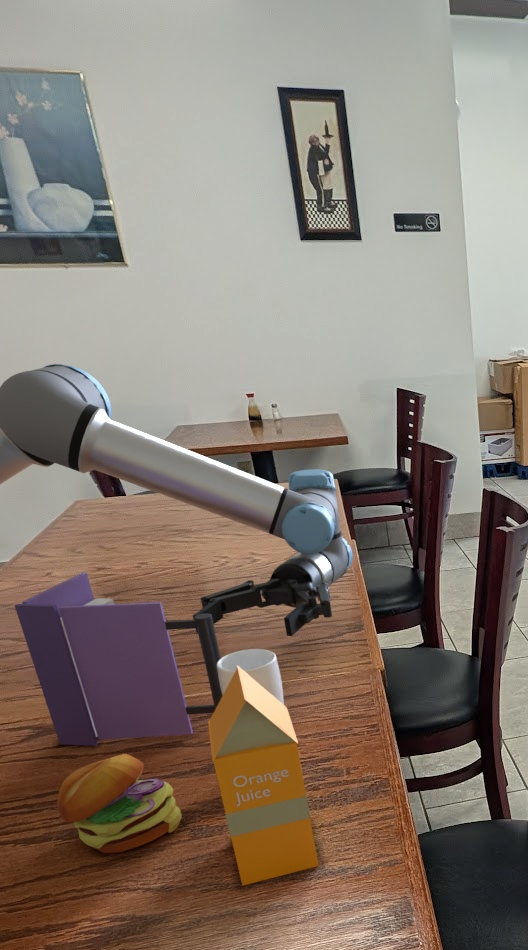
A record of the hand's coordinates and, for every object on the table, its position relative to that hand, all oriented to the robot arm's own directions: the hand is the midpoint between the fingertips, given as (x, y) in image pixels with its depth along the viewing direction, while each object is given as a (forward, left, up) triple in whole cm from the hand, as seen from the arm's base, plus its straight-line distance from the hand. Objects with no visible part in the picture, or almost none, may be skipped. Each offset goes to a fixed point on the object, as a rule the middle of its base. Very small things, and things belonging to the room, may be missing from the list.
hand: (242, 625), depth 117 cm
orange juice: (+19, -37, -11) cm, 43 cm away
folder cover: (-6, -14, -10) cm, 18 cm away
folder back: (-17, -10, -11) cm, 23 cm away
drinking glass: (+11, -21, -11) cm, 26 cm away
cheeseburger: (+1, -35, -11) cm, 36 cm away
